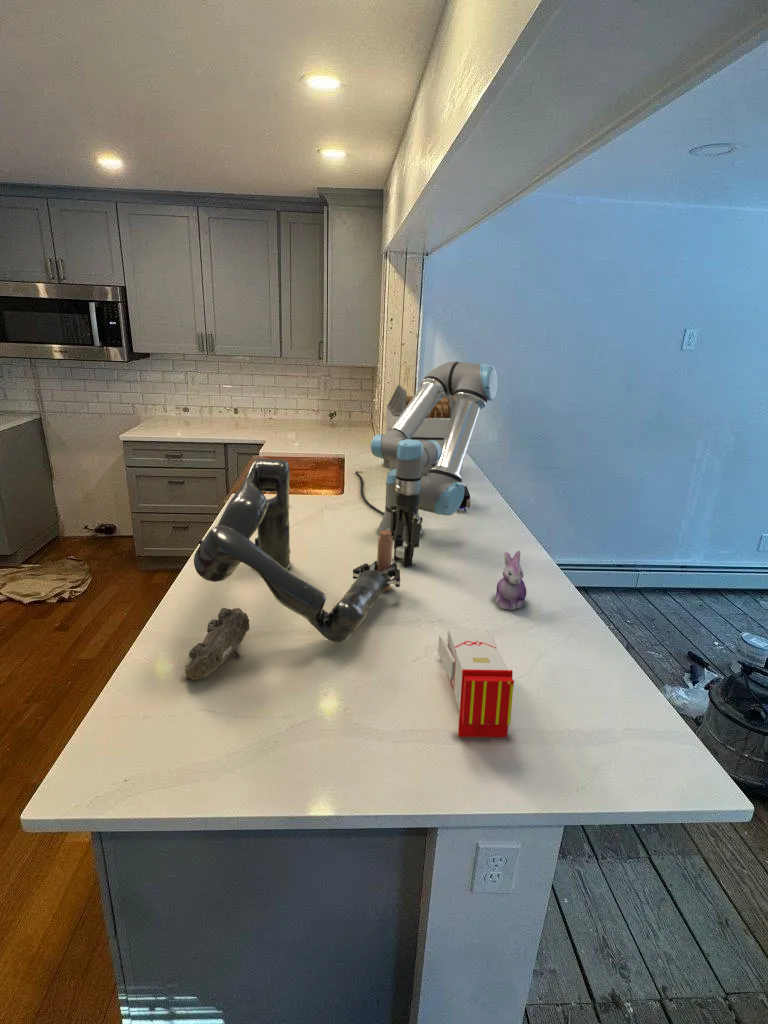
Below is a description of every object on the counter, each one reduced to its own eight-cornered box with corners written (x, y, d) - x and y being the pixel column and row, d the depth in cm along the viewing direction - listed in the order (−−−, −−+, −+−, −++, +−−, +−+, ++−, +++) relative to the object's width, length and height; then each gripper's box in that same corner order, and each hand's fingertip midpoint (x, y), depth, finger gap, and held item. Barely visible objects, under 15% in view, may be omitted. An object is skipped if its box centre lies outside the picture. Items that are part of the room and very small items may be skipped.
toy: (488, 613, 130) (523, 677, 101) (484, 667, 133) (517, 744, 104) (435, 612, 130) (455, 676, 101) (432, 666, 133) (451, 743, 103)
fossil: (204, 611, 136) (249, 581, 131) (232, 638, 139) (276, 610, 134) (164, 674, 117) (215, 642, 112) (197, 704, 120) (248, 674, 115)
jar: (374, 590, 159) (377, 534, 153) (377, 584, 163) (379, 528, 157) (388, 592, 158) (391, 535, 153) (391, 586, 162) (394, 530, 156)
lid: (413, 557, 176) (413, 550, 175) (400, 559, 174) (401, 552, 173) (405, 551, 180) (405, 544, 179) (392, 554, 177) (393, 547, 177)
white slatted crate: (382, 463, 289) (386, 382, 275) (445, 464, 293) (451, 384, 279) (390, 482, 257) (394, 392, 243) (460, 483, 261) (468, 394, 247)
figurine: (508, 614, 149) (515, 562, 144) (485, 597, 158) (490, 547, 153) (536, 607, 153) (543, 557, 148) (511, 591, 162) (518, 542, 157)
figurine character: (470, 516, 223) (465, 500, 237) (473, 499, 220) (467, 484, 233) (453, 516, 223) (449, 500, 236) (455, 498, 220) (451, 483, 233)
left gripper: (340, 597, 149) (363, 571, 164) (392, 608, 145) (410, 580, 160) (341, 572, 146) (364, 547, 162) (393, 582, 142) (412, 556, 158)
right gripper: (380, 485, 175) (377, 555, 182) (415, 502, 161) (410, 576, 169) (400, 482, 179) (396, 550, 186) (435, 498, 165) (429, 570, 173)
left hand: (387, 564), depth 161 cm, fingers closed on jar, 4 cm apart
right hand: (402, 562), depth 178 cm, fingers closed on lid, 4 cm apart
